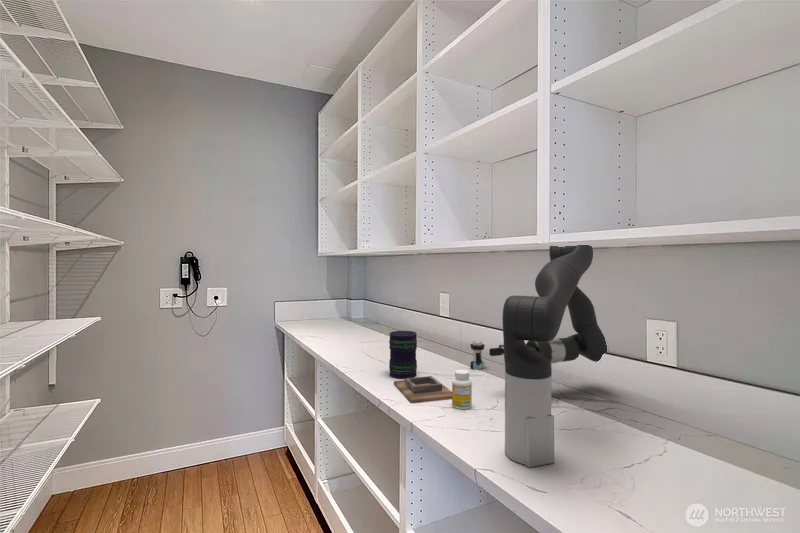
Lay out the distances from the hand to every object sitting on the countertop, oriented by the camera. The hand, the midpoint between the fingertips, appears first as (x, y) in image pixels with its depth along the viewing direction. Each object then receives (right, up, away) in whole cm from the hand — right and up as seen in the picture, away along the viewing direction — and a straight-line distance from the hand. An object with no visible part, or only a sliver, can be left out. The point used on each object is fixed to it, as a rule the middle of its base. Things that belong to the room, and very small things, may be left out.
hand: (497, 355), depth 112 cm
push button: (+2, -13, +35) cm, 37 cm away
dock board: (-21, -13, +9) cm, 26 cm away
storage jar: (-27, -13, +26) cm, 40 cm away
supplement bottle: (-11, -13, -3) cm, 18 cm away
